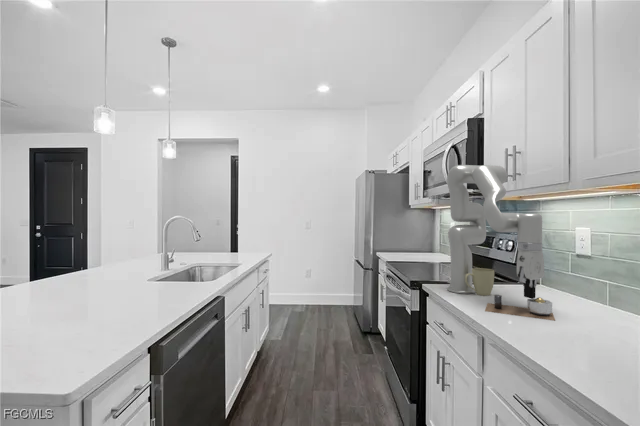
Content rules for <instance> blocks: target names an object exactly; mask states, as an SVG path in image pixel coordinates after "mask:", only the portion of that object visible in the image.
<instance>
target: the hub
mask: <svg viewBox="0 0 640 426" xmlns="http://www.w3.org/2000/svg"><path fill="white" fill-rule="evenodd" d="M535 299H536V300H535V301H536V302H544V300H545V299H543V298H542V297H535ZM530 313H531V314H534V315H538V316H549V314H542V313H535V312H531V311H530Z"/></svg>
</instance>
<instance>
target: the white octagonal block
mask: <svg viewBox="0 0 640 426" xmlns="http://www.w3.org/2000/svg"><path fill="white" fill-rule="evenodd" d="M535 300H536V298H527V300H526V302H527V303H526V304H527V305H526V306H527V307H526V308H527V309H528V310H529V311H531V312H535V313H542V314H550V313H552V312H553V302H552V301H550V300H547V299H543V300H544V302H536V301H535Z"/></svg>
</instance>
